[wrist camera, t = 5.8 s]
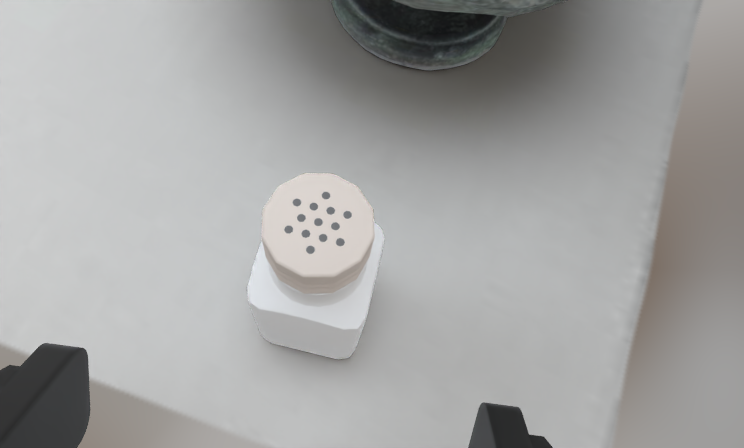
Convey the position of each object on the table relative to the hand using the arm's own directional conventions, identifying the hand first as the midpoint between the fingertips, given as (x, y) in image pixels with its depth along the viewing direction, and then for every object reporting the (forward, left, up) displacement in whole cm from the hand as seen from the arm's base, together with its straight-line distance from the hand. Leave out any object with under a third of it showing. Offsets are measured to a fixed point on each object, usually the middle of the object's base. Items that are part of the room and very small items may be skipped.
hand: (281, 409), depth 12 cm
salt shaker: (+3, +5, -12) cm, 13 cm away
